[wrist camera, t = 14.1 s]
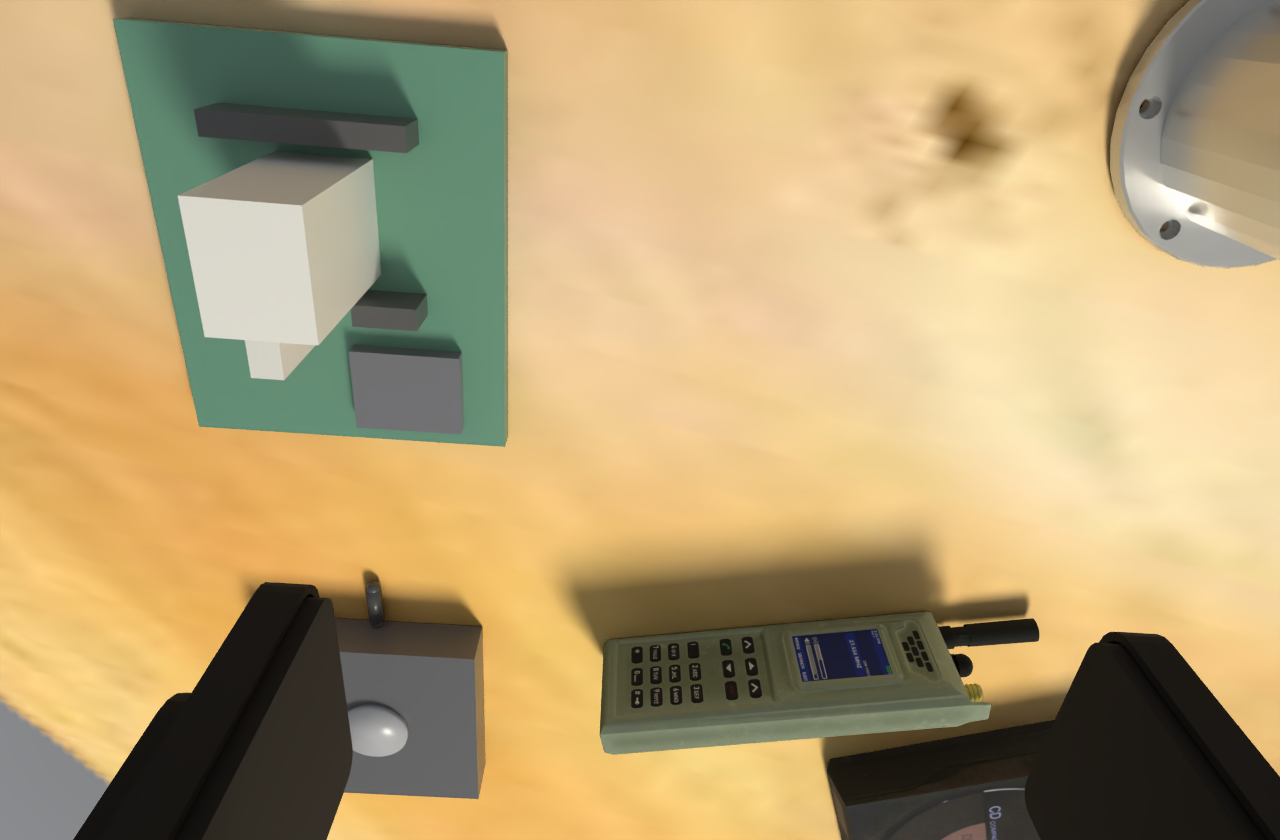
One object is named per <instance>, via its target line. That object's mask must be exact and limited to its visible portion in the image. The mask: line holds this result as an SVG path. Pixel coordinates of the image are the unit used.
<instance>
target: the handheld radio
mask: <svg viewBox="0 0 1280 840" xmlns="http://www.w3.org/2000/svg"><path fill="white" fill-rule="evenodd" d="M1038 640H1039V629H1038V626H1037V623H1036V622H1035V620H1034V619H1021V620H1009V621H998V622H987V623H976V624H965V625H964V626H963V627H953V628H951V627H950V626H942V627H938V626H937V624H936V621H935V619H934V617H933V615H932V613H931V612H927V611H925V612H914V613H902V614H891V615H880V616H869V617H858V618H846V619H835V620H824V621H813V622H801V623H790V624H779V625H768V626H756V627H745V628H734V629H723V630H712V631H700V632H689V633H678V634H667V635H655V636H644V637H633V638H622V639H611V640H606V642H605V644H604V653H603V675H602V698H601V720H600V737H601V741H602V745H603V749H604V752H605V753H609V754H613V755H614V754H626V753H638V752H650V751H663V750H675V749H687V748H699V747H712V746H724V745H736V744H748V743H761V742H773V741H785V740H797V739H810V738H822V737H834V736H846V735H859V734H871V733H883V732H895V731H908V730H920V729H932V728H944V727H957V726H961V725H963V724H965V723H967V722H973V721H980V720H985V719H988V717H989V713H990V709H991V704H990V703H985V702H980V701H981V700H982V699H983V693H982V689H981V687H980V685H977V684H974V685H973V684H970V685H968V684H966V685H965V686H964V685H963V682H962V680H961V678H960V677H967V676H969V675H970V674H971V672H972V670H973V664H972V661H971V660H970V658H969V657H968V656H966V655H964V654H955V655H952V654H950V653H949V651H948V649H954V647H956V646H968V647H970V646H983V645H996V644H1009V643H1023V642H1036V641H1038ZM972 701H973V702H972ZM976 701H977V702H976Z"/></svg>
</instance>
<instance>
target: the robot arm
mask: <svg viewBox="0 0 1280 840" xmlns="http://www.w3.org/2000/svg"><path fill="white" fill-rule="evenodd" d="M1143 101H1144V103H1143V106H1142V108H1141V109H1140V110H1139V107H1140V105H1141V104H1142V102H1143ZM1110 172H1111V177H1112V182H1113V188H1114V193H1115V196H1116V199H1117V201H1118V203H1119V205H1120V207H1121V210H1122V212H1123V214H1124V216H1125V218H1126V219H1127V220H1128V222H1129V223H1130V224H1131V225H1132V227H1133V228H1134V229H1135V230H1136V232H1137V233H1138V234H1139V235H1140V236H1141V237H1142V238H1144V239H1145V240H1146V241H1148V242H1149V243H1150V244H1152V245H1153V246H1154V247H1156V248H1157V249H1159V250H1161V251H1163V252H1165V253H1167V254H1169V255H1171V256H1173V257H1175V258H1177V259H1179V260H1182V261H1185V262H1189V263H1192V264H1195V265H1199V266H1202V267H1215V268H1228V269H1229V268H1238V267H1248V266H1257V265H1260V264H1264V263H1268V262H1271V261H1275V260H1280V0H1189V1H1188V2H1187V3H1186V4H1185V5H1184V6H1183V7H1182V8H1181V9H1180V10H1179V11H1178V12H1177V13H1176V14H1175V15H1174V16H1173V17H1172V18H1171V19H1170V20H1169V21H1168V22H1167V23H1166V25H1165V26H1164V27H1163V28H1162V30H1161V31H1160V32H1159V34H1158V35H1157V36H1156V37H1155V39H1154V40H1153V41H1152V43H1151V44H1150V45H1149V46H1148V48H1147V49H1146V51H1145V52H1144V54H1143V56H1142V58H1141V59H1140V61H1139V63H1138V65H1137V66H1136V68H1135V70H1134V72H1133V73H1132V75H1131V77H1130V79H1129V81H1128V83H1127V86H1126V88H1125V91H1124V94H1123V96H1122V99H1121V101H1120V104H1119V107H1118V109H1117V112H1116V117H1115V122H1114V127H1113V132H1112V137H1111V144H1110ZM352 757H353V747H352V739H351V732H350V725H349V718H348V710H347V703H346V696H345V688H344V681H343V674H342V666H341V659H340V652H339V645H338V637H337V630H336V623H335V615H334V608H333V604H332V601H331V599H329V598H319V594H318V590H317V589H316V587H315V586H313V585H304V584H287V583H270V582H265V583H263V584H262V585H260V587H259V588H258V589H257V590H256V592H255V593H254V595H253V596H252V598H251V600H250V601H249V603H248V604H247V606H246V607H245V609H244V611H243V612H242V614H241V615H240V617H239V619H238V620H237V622H236V623H235V625H234V627H233V628H232V630H231V631H230V633H229V634H228V636H227V638H226V639H225V641H224V642H223V644H222V646H221V647H220V649H219V650H218V652H217V653H216V655H215V657H214V658H213V660H212V661H211V663H210V665H209V666H208V668H207V669H206V671H205V673H204V674H203V676H202V677H201V679H200V680H199V682H198V684H197V685H196V687H195V688H194V690H193V692H192V693H177V694H176V695H174V696H173V697H171V698H170V699H168V700H167V701H166V702H165V704H164V705H163V706H162V707H161V708H160V710H159V711H158V712H157V714H156V715H155V717H154V718H153V720H152V721H151V723H150V724H149V726H148V727H147V729H146V730H145V732H144V733H143V735H142V736H141V738H140V739H139V741H138V742H137V744H136V745H135V747H134V748H133V750H132V751H131V753H130V754H129V756H128V758H127V759H126V761H125V762H124V764H123V765H122V767H121V768H120V770H119V771H118V773H117V774H116V776H115V777H114V779H113V780H112V782H111V783H110V785H109V786H108V788H107V789H106V791H105V792H104V794H103V795H102V797H101V798H100V800H99V801H98V803H97V804H96V806H95V808H94V809H93V811H92V812H91V814H90V815H89V817H88V818H87V820H86V821H85V823H84V824H83V826H82V827H81V829H80V830H79V832H78V833H77V835H76V836H75V838H74V839H73V840H326V839H327V837H328V834H329V831H330V828H331V826H332V823H333V820H334V817H335V815H336V812H337V809H338V806H339V804H340V801H341V798H342V795H343V793H344V790H345V787H346V784H347V782H348V778H349V775H350V771H351V765H352ZM1024 794H1025V803H1026V807H1027V811H1028V813H1029V816H1030V818H1031V820H1032V822H1033V824H1034V826H1035V829H1036V831H1037V833H1038V835H1039V837H1040V839H1041V840H1280V777H1279V775H1278V774H1277V773H1276V772H1275V771H1274V769H1273V768H1272V767H1271V766H1270V764H1269V763H1268V762H1267V761H1266V759H1265V758H1264V757H1263V756H1262V754H1261V753H1260V752H1259V751H1258V750H1257V748H1256V747H1255V746H1254V745H1253V743H1252V742H1251V741H1250V740H1249V738H1248V737H1247V736H1246V735H1245V734H1244V732H1243V731H1242V730H1241V729H1240V727H1239V726H1238V725H1237V724H1236V722H1235V721H1234V720H1233V719H1232V717H1231V716H1230V715H1229V714H1228V713H1227V711H1226V710H1225V709H1224V708H1223V706H1222V705H1221V704H1220V703H1219V701H1218V700H1217V699H1216V698H1215V697H1214V695H1213V694H1212V693H1211V692H1210V690H1209V689H1208V688H1207V687H1206V685H1205V684H1204V683H1203V682H1202V680H1201V679H1200V678H1199V677H1198V676H1197V674H1196V673H1195V672H1194V671H1193V669H1192V668H1191V667H1190V666H1189V664H1188V663H1187V662H1186V661H1185V660H1184V658H1183V657H1182V656H1181V655H1180V653H1179V652H1178V651H1177V650H1176V648H1175V647H1174V646H1173V645H1172V644H1171V643H1170V642H1169V641H1168V640H1167V639H1166V638H1165V637H1163V636H1160V635H1158V634H1143V633H1126V632H1109V633H1107V634H1106V635H1104V636H1103V637H1102V639H1101V640H1100V642H1099V643H1094V644H1092V645H1091V646H1090V647H1089V649H1088V650H1087V652H1086V655H1085V657H1084V659H1083V661H1082V663H1081V665H1080V667H1079V670H1078V672H1077V674H1076V676H1075V678H1074V680H1073V682H1072V685H1071V687H1070V689H1069V691H1068V693H1067V695H1066V697H1065V700H1064V702H1063V704H1062V706H1061V708H1060V710H1059V712H1058V715H1057V717H1056V719H1055V721H1054V723H1053V725H1052V727H1051V730H1050V732H1049V734H1048V736H1047V738H1046V740H1045V742H1044V745H1043V747H1042V749H1041V751H1040V753H1039V755H1038V757H1037V760H1036V762H1035V764H1034V766H1033V768H1032V770H1031V772H1030V775H1029V777H1028V779H1027V781H1026V784H1025V792H1024Z"/></svg>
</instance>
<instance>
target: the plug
mask: <svg viewBox="0 0 1280 840" xmlns="http://www.w3.org/2000/svg"><path fill="white" fill-rule="evenodd" d="M178 200H179V206H180V211H181V216H182V221H183V227H184V232H185V237H186V242H187V247H188V253H189V258H190V263H191V268H192V273H193V279H194V284H195V289H196V294H197V299H198V305H199V310H200V315H201V320H202V325H203V331H204V336H205V337H209V338H223V339H237V340H245V345H246V351H247V357H248V363H249V369H250V375H251V378H259V379H273V380H285V379H286V378H287V377H288V376H289V374H290V373H291V372H292V371H293V370H294V369H295V368H296V367H297V366H298V364H299V363H300V362H301V361H302V360H303V359H304V358H305V357H306V355H307V354H308V353H309V352H310V351H311V350H312V349H313V348H314V347H315V345H318V346H319V344H320V343H321V342H322V341H323V340H324V339H325V338H326V336H327V335H328V334H329V333H330V332H331V331H332V330H333V329H334V327H335V326H336V325H337V324H338V323H339V322H340V321H341V320H342V318H343V317H344V316H345V315H346V314H347V313H348V312H349V311H350V309H351V308H352V307H353V306H354V305H355V304H356V303H357V301H358V300H359V299H360V298H361V297H362V296H363V295H364V294H365V292H366V291H367V290H368V289H369V288H370V287H371V286H372V285H373V283H374V282H375V281H376V280H377V279H378V278H379V277H380V276H381V263H380V250H379V236H378V223H377V210H376V196H375V183H374V170H373V159H366V158H354V157H342V156H330V155H318V154H306V153H294V152H282V151H274V152H272V153H270V154H267V155H265V156H263V157H261V158H259V159H256V160H254V161H252V162H250V163H248V164H245V165H243V166H241V167H239V168H237V169H235V170H232V171H230V172H228V173H226V174H224V175H221V176H219V177H217V178H215V179H213V180H210V181H208V182H206V183H204V184H202V185H199V186H197V187H195V188H193V189H191V190H189V191H186V192H184V193H182V194H180V195H178Z"/></svg>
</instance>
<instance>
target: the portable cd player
mask: <svg viewBox="0 0 1280 840" xmlns="http://www.w3.org/2000/svg"><path fill="white" fill-rule="evenodd" d="M1054 721H1055V720H1051V721H1046V722H1040V723H1034V724H1028V725H1023V726H1017V727H1011V728H1006V729H1000V730H994V731H988V732H983V733H977V734H971V735H965V736H960V737H954V738H948V739H942V740H937V741H931V742H925V743H919V744H914V745H908V746H902V747H897V748H891V749H885V750H879V751H874V752H868V753H862V754H856V755H851V756H845V757H839V758H833V759H830V762H829V766H828V769H827V774H828V778H829V782H830V787H831V791H832V796H833V800H834V805H835V809H836V814H837V818H838V822H839V827H840V831H841V836H842V840H1041V839H1040V837H1039V835H1038V833H1037V831H1036V829H1035V826H1034V824H1033V822H1032V820H1031V818H1030V816H1029V813H1028V811H1027V807H1026V803H1025V794H1024V792H1025V784H1026V781H1027V779H1028V777H1029V775H1030V772H1031V770H1032V768H1033V766H1034V764H1035V762H1036V760H1037V757H1038V755H1039V753H1040V751H1041V749H1042V747H1043V745H1044V742H1045V740H1046V738H1047V736H1048V734H1049V732H1050V730H1051V727H1052V725H1053V723H1054Z"/></svg>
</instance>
